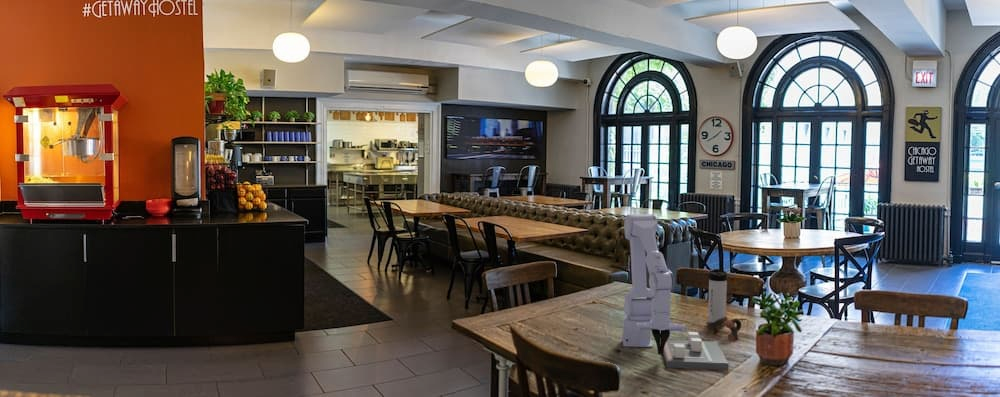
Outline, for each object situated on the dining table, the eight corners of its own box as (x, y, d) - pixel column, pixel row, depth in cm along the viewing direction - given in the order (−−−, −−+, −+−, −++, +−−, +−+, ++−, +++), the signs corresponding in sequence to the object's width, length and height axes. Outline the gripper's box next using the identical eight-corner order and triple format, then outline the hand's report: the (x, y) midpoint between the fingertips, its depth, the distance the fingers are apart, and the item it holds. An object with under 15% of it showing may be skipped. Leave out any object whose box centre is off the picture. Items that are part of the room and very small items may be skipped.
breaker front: (674, 357, 216) (674, 346, 216) (673, 354, 219) (673, 343, 219) (684, 358, 216) (684, 347, 216) (683, 354, 219) (683, 344, 219)
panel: (667, 367, 214) (667, 360, 214) (660, 345, 236) (660, 339, 236) (728, 369, 212) (728, 362, 212) (716, 347, 234) (716, 341, 233)
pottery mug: (725, 344, 238) (714, 322, 240) (711, 349, 247) (700, 327, 249) (752, 331, 243) (740, 309, 245) (736, 336, 251) (725, 315, 253)
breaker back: (689, 344, 229) (689, 334, 229) (687, 341, 232) (688, 331, 232) (698, 345, 229) (698, 334, 229) (697, 342, 232) (697, 332, 232)
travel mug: (723, 321, 265) (724, 269, 264) (727, 326, 259) (728, 272, 257) (706, 320, 266) (707, 268, 264) (709, 325, 260) (711, 272, 258)
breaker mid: (691, 351, 222) (692, 340, 222) (690, 348, 225) (690, 338, 225) (701, 351, 222) (701, 341, 222) (700, 348, 225) (700, 338, 225)
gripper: (637, 313, 214) (637, 356, 215) (686, 314, 212) (685, 358, 213) (636, 307, 221) (635, 349, 222) (683, 308, 219) (683, 351, 220)
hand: (660, 353), depth 218 cm, fingers closed
